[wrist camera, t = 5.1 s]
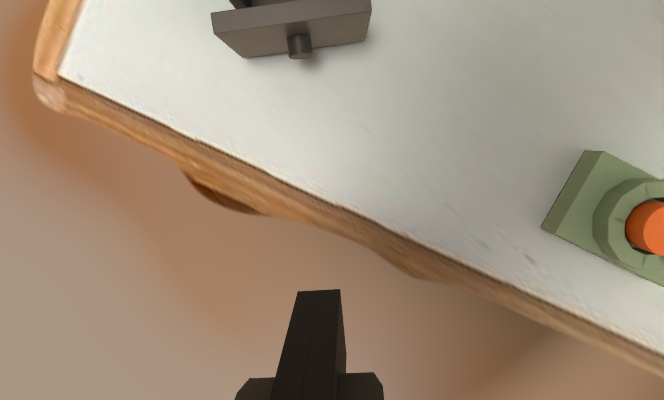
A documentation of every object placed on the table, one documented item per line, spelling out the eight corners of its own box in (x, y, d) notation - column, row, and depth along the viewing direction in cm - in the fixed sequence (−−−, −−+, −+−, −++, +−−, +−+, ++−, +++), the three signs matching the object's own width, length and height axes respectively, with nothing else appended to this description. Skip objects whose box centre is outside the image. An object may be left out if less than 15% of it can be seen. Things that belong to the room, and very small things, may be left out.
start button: (686, 214, 28) (708, 218, 26) (658, 257, 28) (678, 265, 27) (642, 192, 28) (662, 195, 26) (615, 236, 28) (632, 242, 27)
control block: (693, 204, 31) (743, 213, 27) (645, 279, 32) (687, 298, 28) (584, 150, 31) (620, 151, 27) (539, 227, 32) (567, 239, 28)
